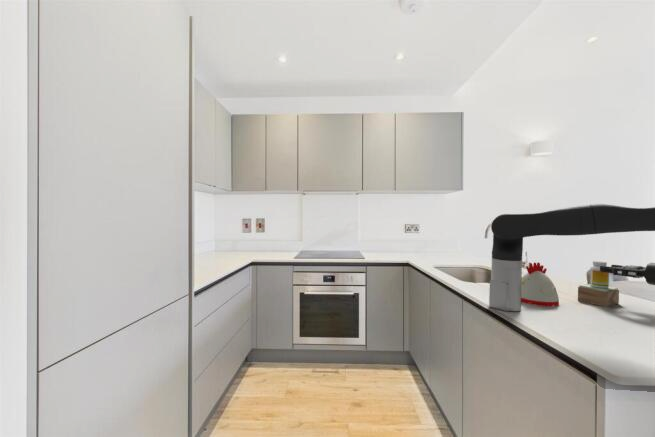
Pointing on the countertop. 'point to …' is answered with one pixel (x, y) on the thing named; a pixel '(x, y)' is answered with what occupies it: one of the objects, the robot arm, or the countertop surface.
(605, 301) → the stand
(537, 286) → the grey and red dome
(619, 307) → the countertop surface
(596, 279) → the supplement bottle
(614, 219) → the robot arm
